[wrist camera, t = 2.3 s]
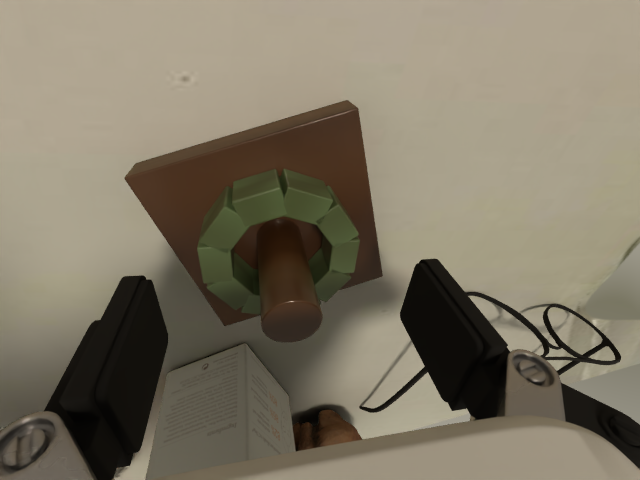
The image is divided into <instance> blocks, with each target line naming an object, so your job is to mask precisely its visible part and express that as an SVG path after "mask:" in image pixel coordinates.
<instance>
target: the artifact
mask: <svg viewBox="0 0 640 480" xmlns="http://www.w3.org/2000/svg"><path fill="white" fill-rule="evenodd" d="M293 434H294V442H295V450H296V451H301V450H307V449H313V448H318V447H324V446H329V445H335V444H340V443H346V442H352V441H357V440H363V439H362V438H361V436H360V435H359V434H358V432H357V430H356V428H355V427H354V426H353V425H351V424H350V423H348V422H346V421H345V420H343V419H342V418H341V416H340V415H339V414H338V413H336V412H334V411H332V410H322V411H321V412H320V413H319V423H318V425H316V426H312V425H311V424H310V423H309V422H306V423H304V424H302V423H296V424H295V425H293Z"/></svg>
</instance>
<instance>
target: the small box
mask: <svg viewBox="0 0 640 480" xmlns="http://www.w3.org/2000/svg"><path fill="white" fill-rule="evenodd" d="M290 452H296V450H295V442H294V434H293V426H292V418H291V411H290V403H289V396H288V394H287V393H286V392H285V391H284V390H283V389H282V387H281V386H280V385H279V384H278V382H277V381H276V380H275V379H274V377H273V376H272V375H271V374H270V373H269V371H268V370H267V369H266V368H265V366H264V365H263V364H262V363H261V362H260V360H259V359H258V358H257V357H256V355H255V354H254V353H253V352H252V351H251V349H250V348H249V347H248V345H247V344H245V343H244V344H241V345H239V346H236V347H233V348H231V349H228V350H226V351H223V352H220V353H218V354H215V355H212V356H210V357H207V358H205V359H202V360H199V361H197V362H194V363H191V364H189V365H186V366H183V367H181V368H178V369H176V370H173V371H171V372H169V373H168V374H167V378H166V383H165V387H164V392H163V397H162V401H161V407H160V411H159V417H158V421H157V426H156V430H155V435H154V440H153V446H152V451H151V455H150V460H149V465H148V469H147V474H146V479H145V480H149V479H154V478H159V477H164V476H169V475H174V474H179V473H184V472H189V471H194V470H199V469H204V468H209V467H214V466H220V465H225V464H231V463H236V462H241V461H247V460H252V459H258V458H263V457H269V456H274V455H279V454H285V453H290Z"/></svg>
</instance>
